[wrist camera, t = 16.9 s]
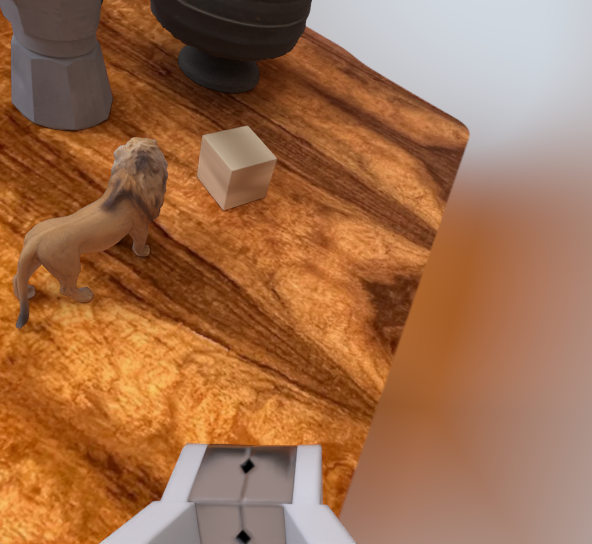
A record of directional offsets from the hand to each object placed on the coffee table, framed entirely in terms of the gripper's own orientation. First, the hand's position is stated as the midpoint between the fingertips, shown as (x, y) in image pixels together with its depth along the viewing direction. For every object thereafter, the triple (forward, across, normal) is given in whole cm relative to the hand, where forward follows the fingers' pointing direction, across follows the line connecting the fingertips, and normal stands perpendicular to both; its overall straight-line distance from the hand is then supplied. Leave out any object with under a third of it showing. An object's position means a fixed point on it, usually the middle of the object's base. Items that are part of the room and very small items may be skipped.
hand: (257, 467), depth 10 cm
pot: (+54, +12, -12) cm, 57 cm away
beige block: (+37, +8, 0) cm, 38 cm away
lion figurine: (+26, +17, +4) cm, 31 cm away
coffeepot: (+41, +24, -9) cm, 49 cm away
